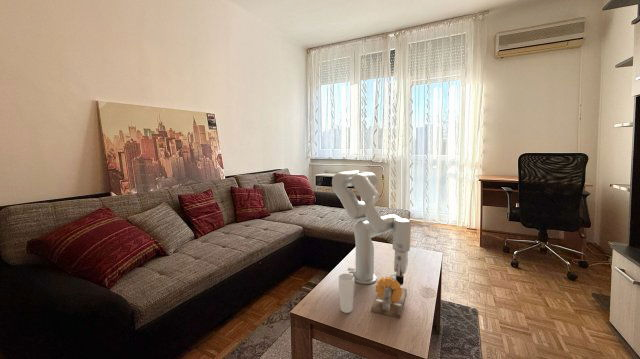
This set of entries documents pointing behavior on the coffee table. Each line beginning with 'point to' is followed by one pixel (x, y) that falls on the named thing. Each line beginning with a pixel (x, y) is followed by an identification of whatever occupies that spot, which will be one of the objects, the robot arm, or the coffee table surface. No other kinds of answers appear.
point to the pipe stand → (385, 305)
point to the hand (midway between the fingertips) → (399, 283)
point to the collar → (394, 286)
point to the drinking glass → (346, 292)
